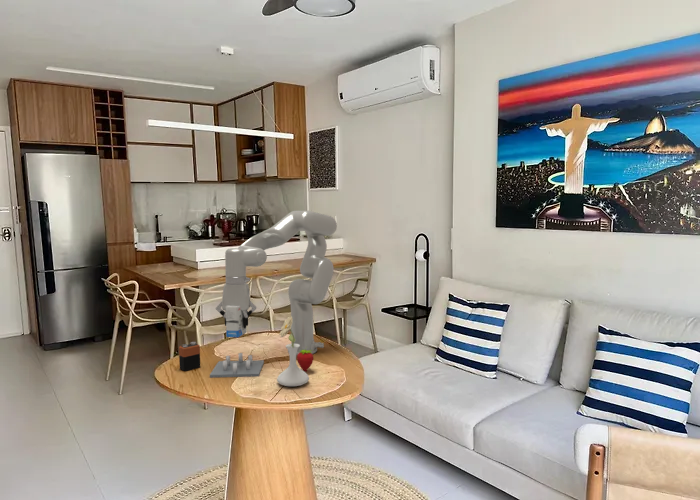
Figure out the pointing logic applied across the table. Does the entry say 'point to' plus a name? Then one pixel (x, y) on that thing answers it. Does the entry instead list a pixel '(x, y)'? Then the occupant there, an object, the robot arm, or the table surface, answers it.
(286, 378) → the flower in vase
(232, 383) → the table surface
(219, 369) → the pin tray
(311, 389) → the table surface
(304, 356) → the strawberry
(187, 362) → the battery
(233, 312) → the ink box
